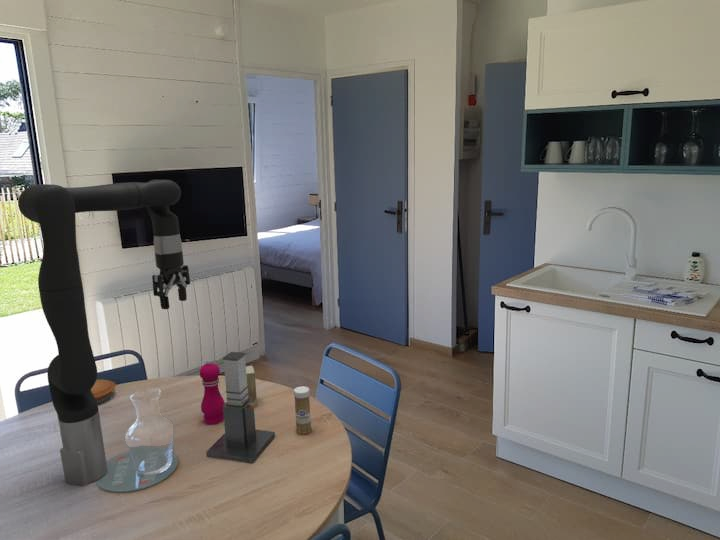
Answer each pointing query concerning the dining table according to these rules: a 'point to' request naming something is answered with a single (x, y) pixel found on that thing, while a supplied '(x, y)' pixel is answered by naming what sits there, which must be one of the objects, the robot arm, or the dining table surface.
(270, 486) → the dining table surface
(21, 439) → the dining table surface
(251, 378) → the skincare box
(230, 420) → the base
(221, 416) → the pepper mill
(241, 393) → the post
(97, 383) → the pie
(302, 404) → the sprinkles bottle
